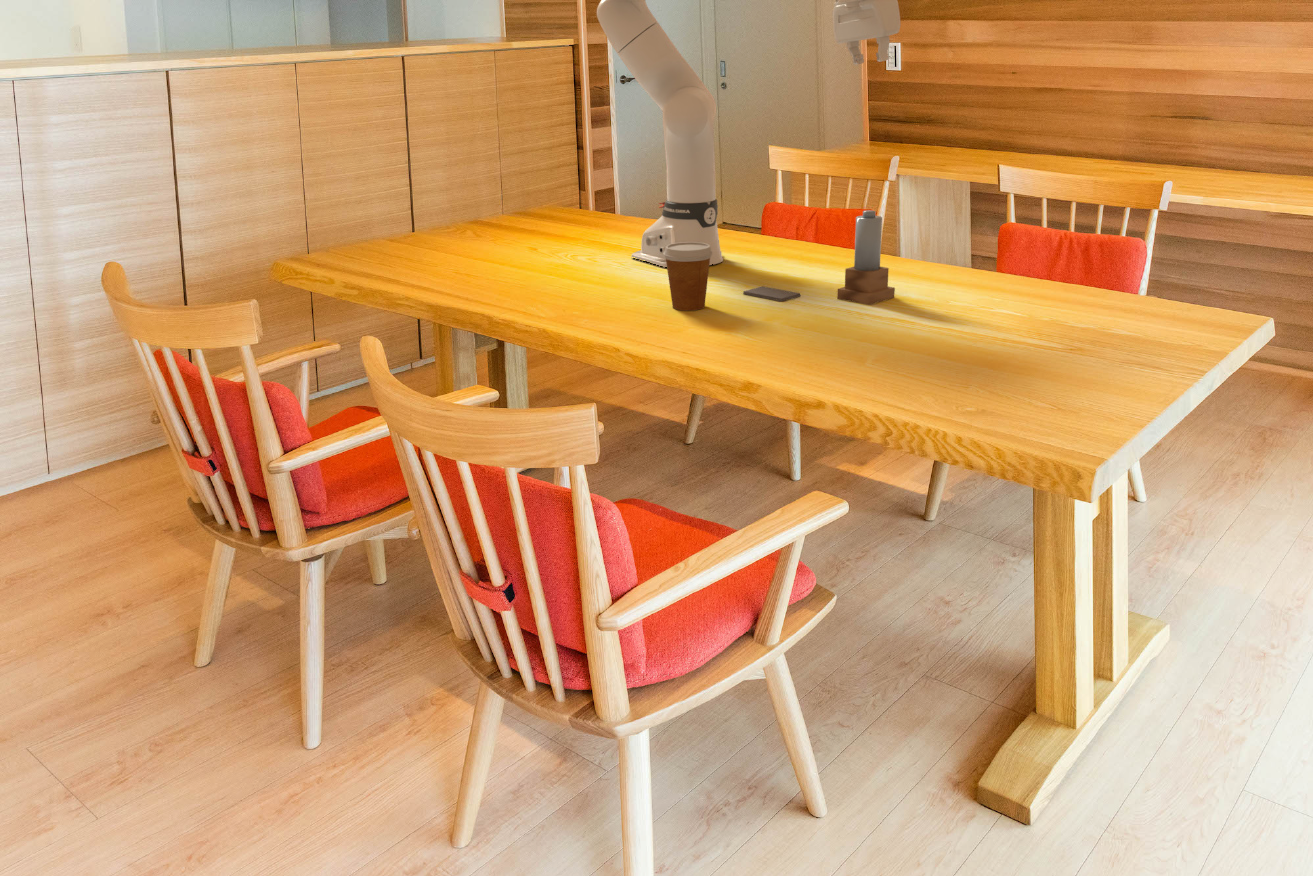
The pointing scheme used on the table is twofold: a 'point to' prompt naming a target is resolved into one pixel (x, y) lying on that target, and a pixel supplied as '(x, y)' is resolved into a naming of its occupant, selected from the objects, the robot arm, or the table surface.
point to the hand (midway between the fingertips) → (870, 62)
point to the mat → (771, 293)
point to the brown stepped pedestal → (866, 286)
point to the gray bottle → (868, 241)
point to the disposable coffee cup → (688, 274)
